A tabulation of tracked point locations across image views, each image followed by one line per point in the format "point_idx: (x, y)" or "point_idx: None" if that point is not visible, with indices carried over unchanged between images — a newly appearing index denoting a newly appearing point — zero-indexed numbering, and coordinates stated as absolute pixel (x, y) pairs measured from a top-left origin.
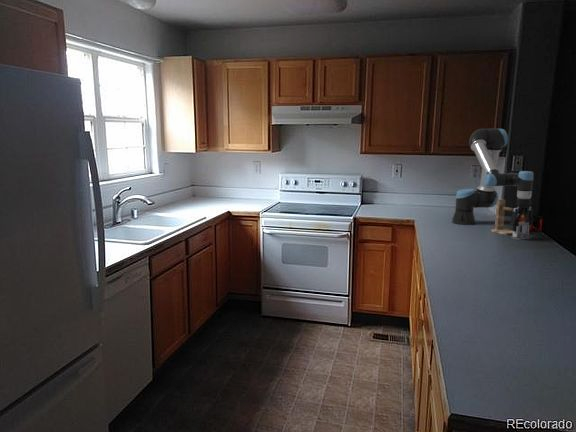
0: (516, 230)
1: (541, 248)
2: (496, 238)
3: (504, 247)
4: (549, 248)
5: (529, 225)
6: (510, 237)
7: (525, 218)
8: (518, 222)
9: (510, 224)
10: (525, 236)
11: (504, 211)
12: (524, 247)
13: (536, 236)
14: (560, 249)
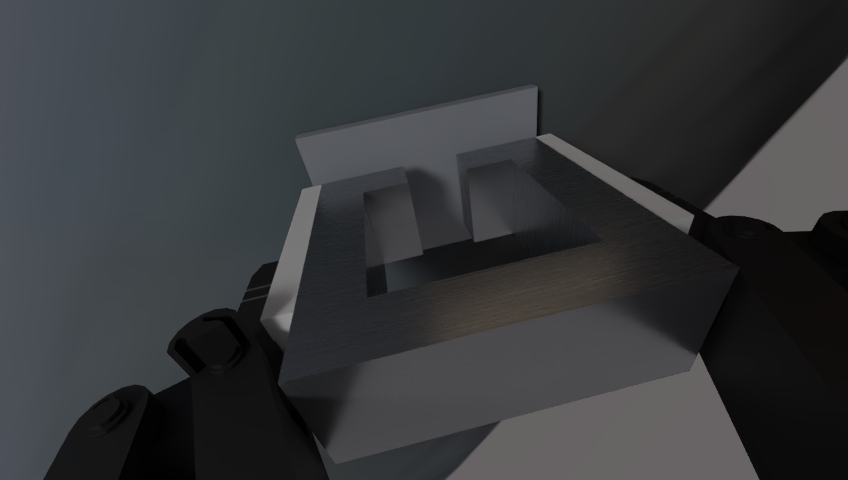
0: None
1: (351, 461)
2: (8, 134)
3: (42, 465)
4: (404, 457)
5: None
6: (298, 138)
7: (803, 428)
8: (420, 379)
9: (102, 409)
10: None
11: None
12: None
13: (698, 130)
14: (450, 465)
